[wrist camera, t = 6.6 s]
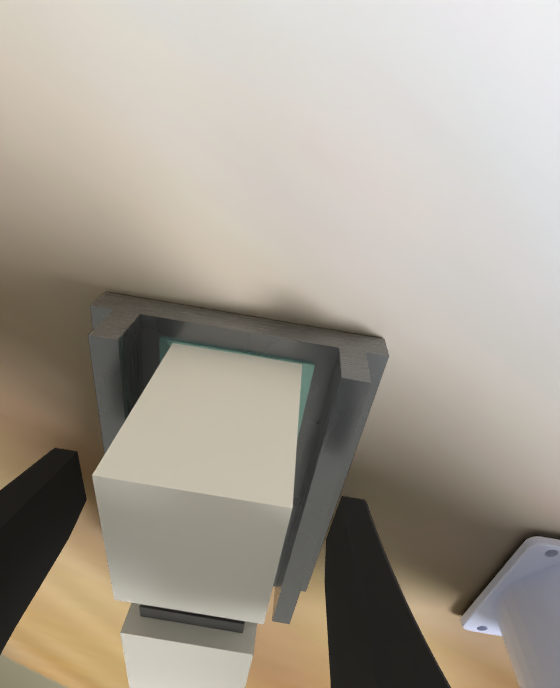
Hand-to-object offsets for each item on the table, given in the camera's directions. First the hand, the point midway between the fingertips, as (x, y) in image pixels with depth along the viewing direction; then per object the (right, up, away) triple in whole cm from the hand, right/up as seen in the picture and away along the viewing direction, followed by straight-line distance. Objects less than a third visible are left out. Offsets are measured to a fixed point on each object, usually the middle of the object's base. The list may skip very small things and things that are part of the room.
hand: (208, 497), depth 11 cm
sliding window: (0, -1, +5) cm, 5 cm away
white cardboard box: (0, +2, +3) cm, 3 cm away
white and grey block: (-1, -4, +6) cm, 8 cm away
